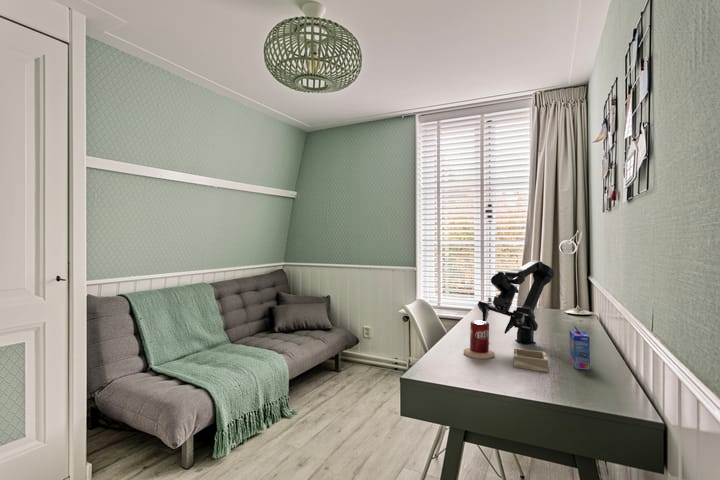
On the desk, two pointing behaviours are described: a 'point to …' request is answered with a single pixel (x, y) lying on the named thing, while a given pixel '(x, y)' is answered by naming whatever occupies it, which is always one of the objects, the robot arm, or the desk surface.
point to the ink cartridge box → (579, 349)
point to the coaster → (479, 356)
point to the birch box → (530, 360)
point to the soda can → (479, 337)
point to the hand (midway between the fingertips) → (493, 329)
